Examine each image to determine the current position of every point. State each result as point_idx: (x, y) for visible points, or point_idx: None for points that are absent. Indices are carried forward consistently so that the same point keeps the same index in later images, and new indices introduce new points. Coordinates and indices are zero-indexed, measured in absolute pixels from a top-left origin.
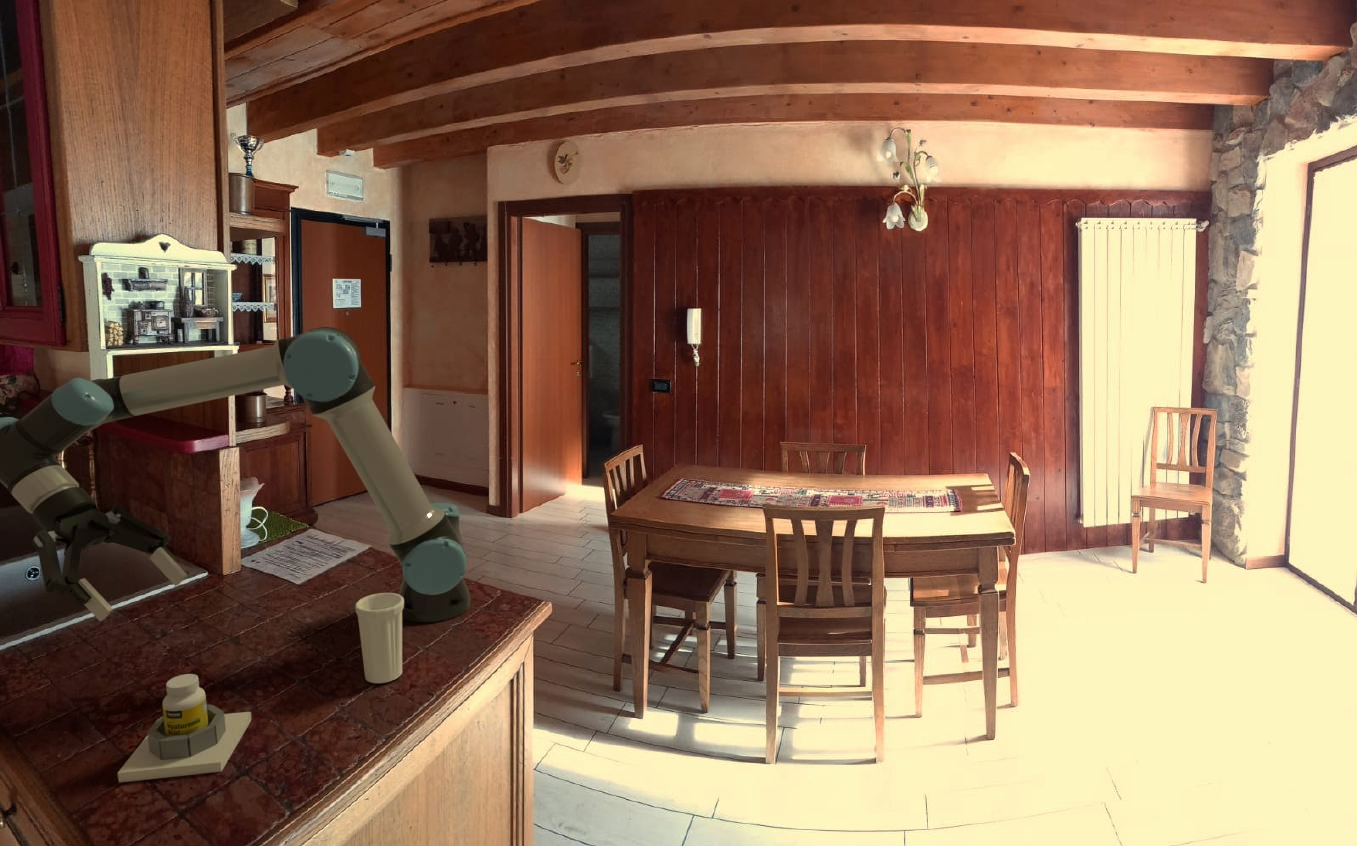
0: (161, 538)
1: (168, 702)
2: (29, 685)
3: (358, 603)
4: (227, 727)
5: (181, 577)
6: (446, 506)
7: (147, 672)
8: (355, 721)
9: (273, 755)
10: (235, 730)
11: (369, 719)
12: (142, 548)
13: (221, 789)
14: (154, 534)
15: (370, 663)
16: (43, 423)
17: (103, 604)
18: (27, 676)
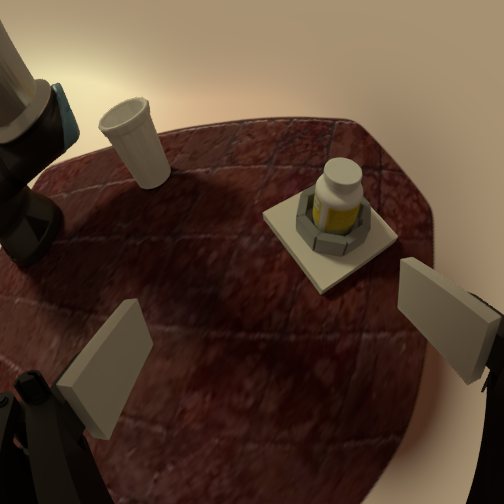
0: (14, 416)
1: (360, 186)
2: None
3: (126, 121)
4: (296, 209)
5: (139, 308)
6: None
7: (220, 448)
8: (230, 147)
9: (298, 163)
10: (296, 198)
11: (224, 142)
12: (91, 466)
13: None
14: (6, 439)
15: (164, 156)
16: None
17: (425, 266)
18: None
